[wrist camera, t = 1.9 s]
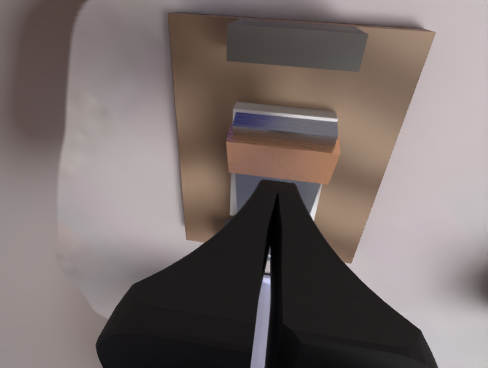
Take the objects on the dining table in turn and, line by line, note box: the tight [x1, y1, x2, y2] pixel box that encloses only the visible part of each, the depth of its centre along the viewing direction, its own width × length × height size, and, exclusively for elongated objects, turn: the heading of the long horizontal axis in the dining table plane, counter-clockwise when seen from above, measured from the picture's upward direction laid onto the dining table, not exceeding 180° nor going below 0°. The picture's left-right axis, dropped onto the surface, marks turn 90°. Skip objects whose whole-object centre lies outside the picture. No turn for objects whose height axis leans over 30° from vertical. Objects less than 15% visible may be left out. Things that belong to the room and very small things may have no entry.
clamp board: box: [168, 12, 436, 263], centre depth 19 cm, size 17×14×5 cm
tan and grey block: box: [226, 112, 340, 261], centre depth 17 cm, size 14×4×1 cm, turn 178°
